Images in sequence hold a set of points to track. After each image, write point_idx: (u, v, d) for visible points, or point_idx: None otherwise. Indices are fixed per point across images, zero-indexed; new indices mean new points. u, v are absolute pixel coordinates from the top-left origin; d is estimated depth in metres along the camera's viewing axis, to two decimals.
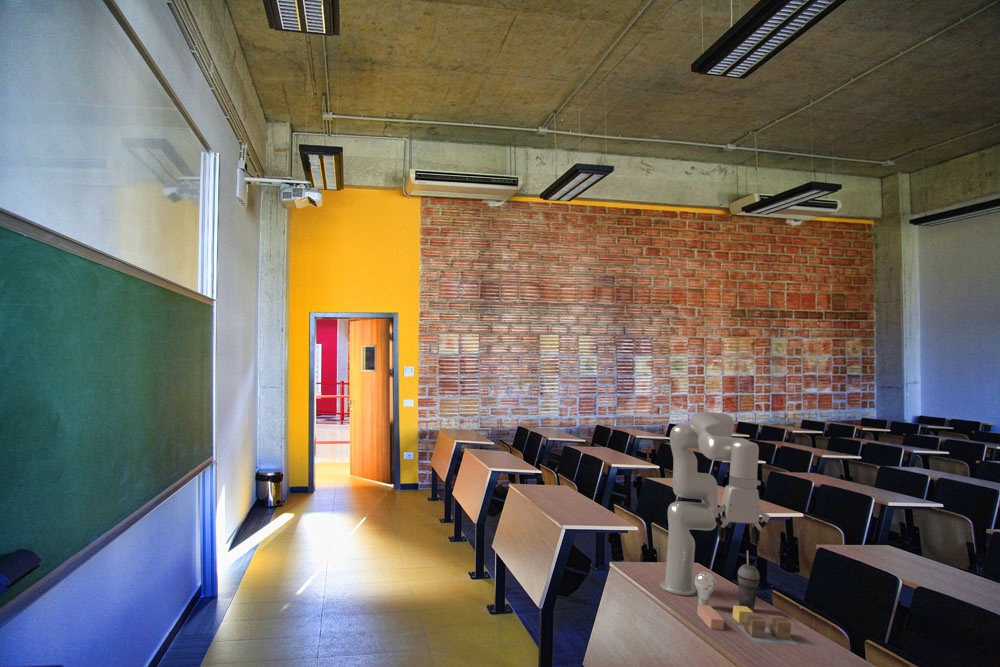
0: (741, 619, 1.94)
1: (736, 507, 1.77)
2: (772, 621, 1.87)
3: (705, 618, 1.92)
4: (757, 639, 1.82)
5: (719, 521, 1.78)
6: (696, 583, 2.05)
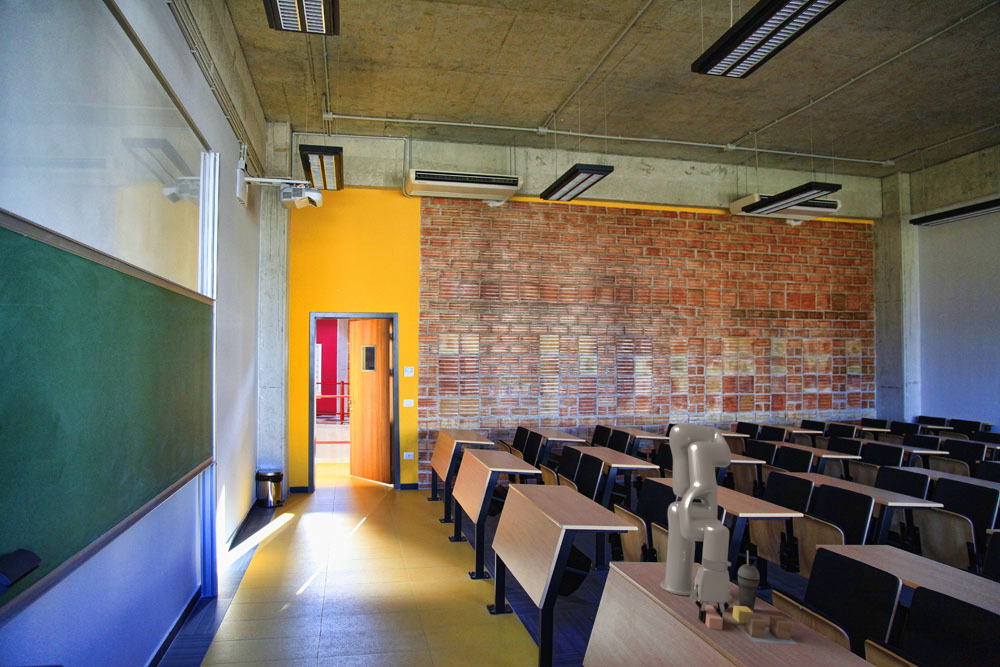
0: (741, 619, 1.94)
1: (708, 588, 1.91)
2: (772, 621, 1.87)
3: None
4: (757, 639, 1.82)
5: (699, 604, 1.92)
6: None
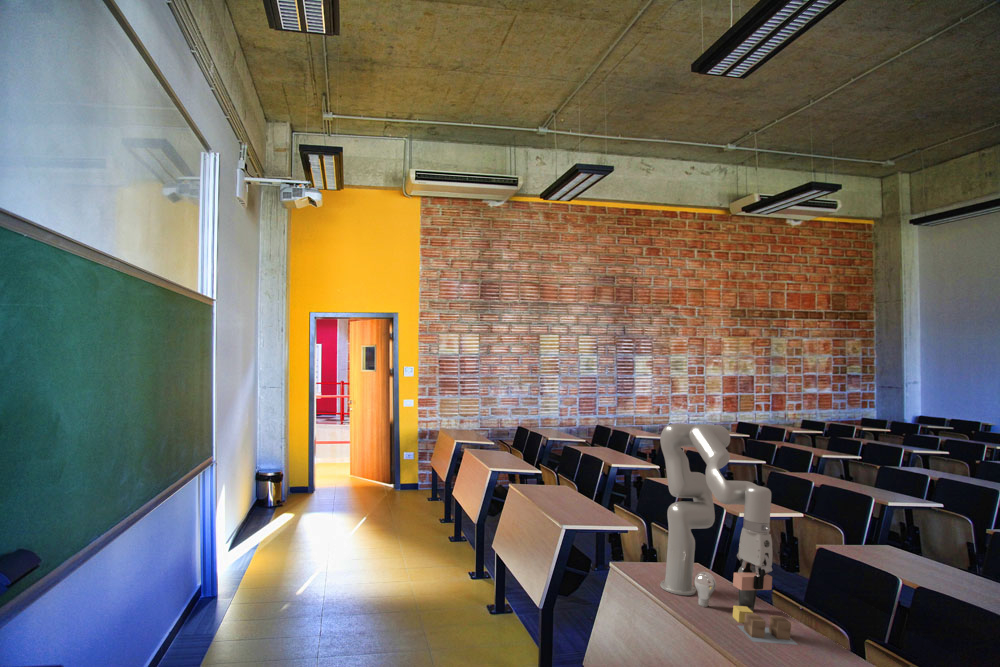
0: (741, 619, 1.94)
1: (743, 546, 1.91)
2: (772, 621, 1.87)
3: None
4: (757, 639, 1.82)
5: (742, 563, 1.93)
6: (696, 583, 2.05)
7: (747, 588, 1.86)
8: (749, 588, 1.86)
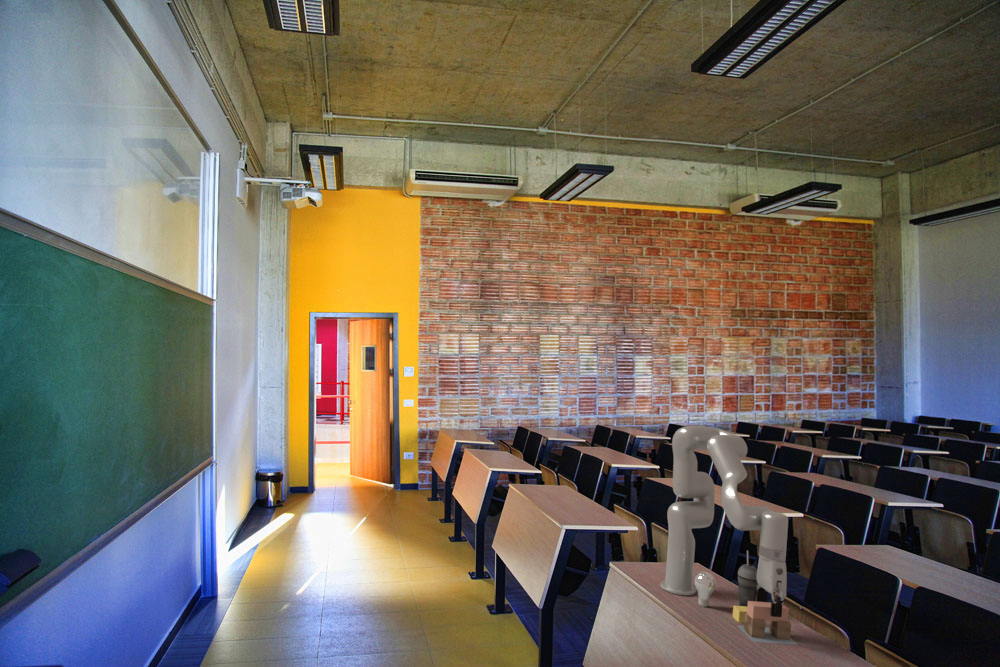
0: (741, 619, 1.94)
1: (759, 571, 1.90)
2: (772, 621, 1.87)
3: None
4: (757, 639, 1.82)
5: (757, 584, 1.93)
6: (696, 583, 2.05)
7: (759, 618, 1.85)
8: (762, 618, 1.85)
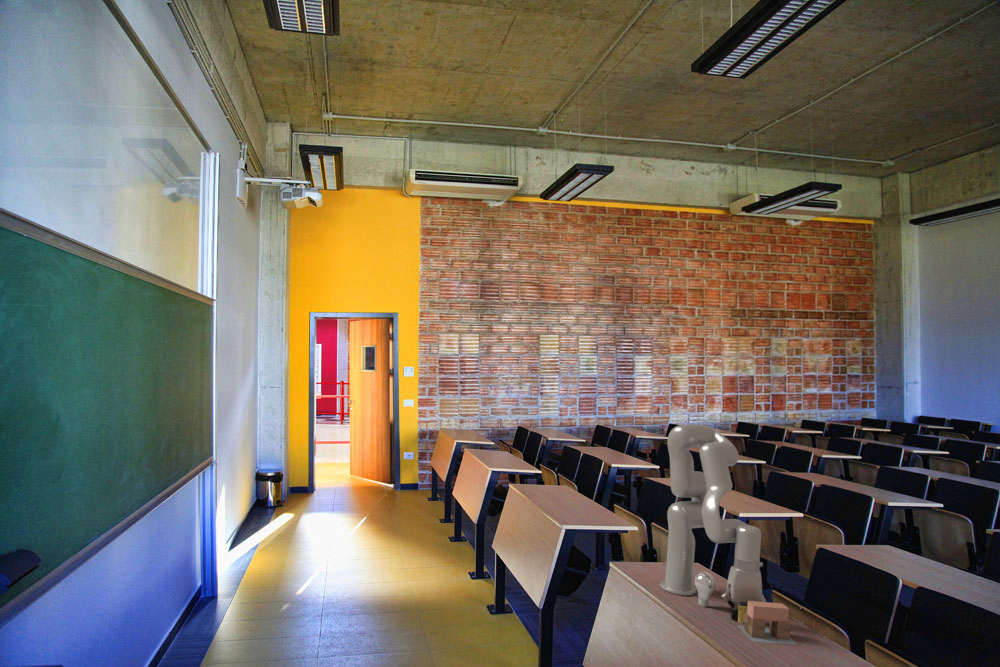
0: (741, 619, 1.94)
1: (740, 588, 1.94)
2: (772, 621, 1.87)
3: None
4: (757, 639, 1.82)
5: (731, 604, 1.95)
6: (696, 583, 2.05)
7: (759, 618, 1.85)
8: (762, 618, 1.85)
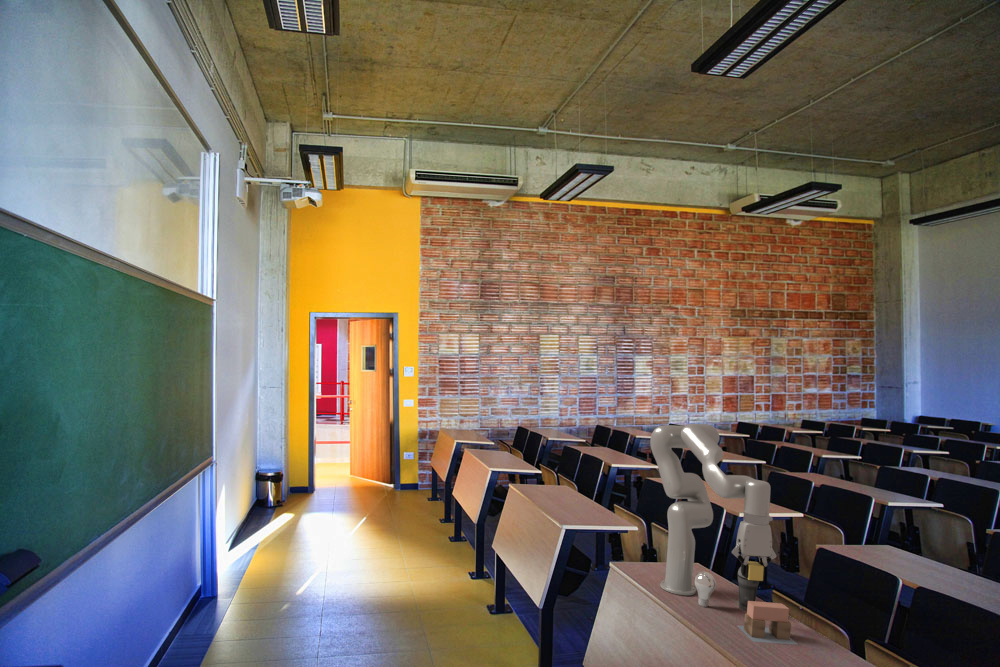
0: (751, 574, 1.92)
1: (750, 542, 1.92)
2: (772, 621, 1.87)
3: None
4: (757, 639, 1.82)
5: (742, 559, 1.93)
6: (696, 583, 2.05)
7: (759, 618, 1.85)
8: (762, 618, 1.85)
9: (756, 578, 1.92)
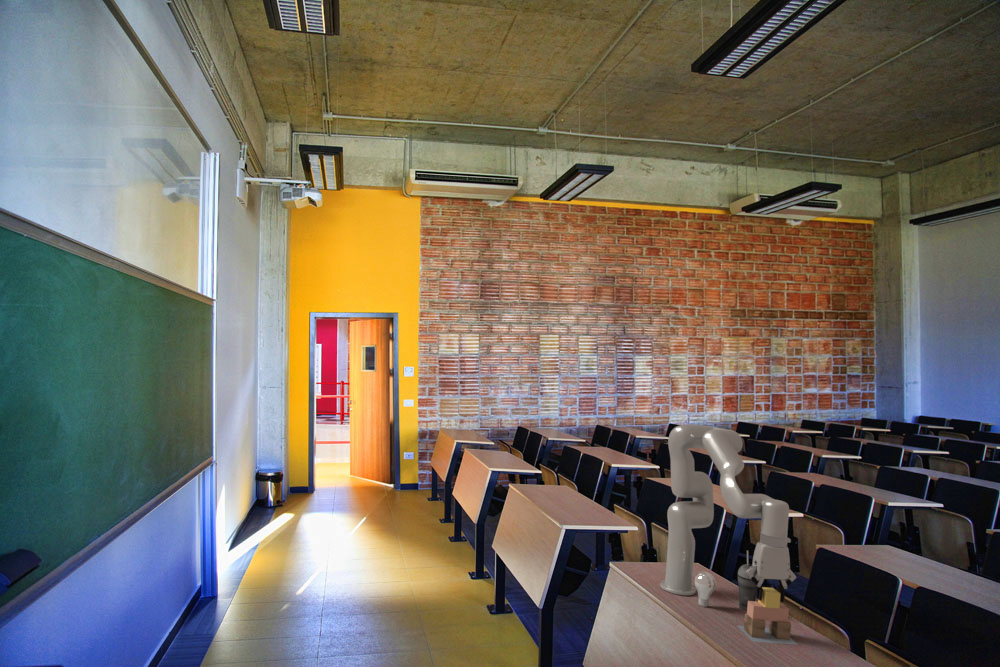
0: (768, 601, 1.85)
1: (767, 564, 1.85)
2: (772, 621, 1.87)
3: None
4: (757, 639, 1.82)
5: (755, 580, 1.86)
6: (696, 583, 2.05)
7: (759, 618, 1.85)
8: (762, 618, 1.85)
9: (772, 605, 1.85)
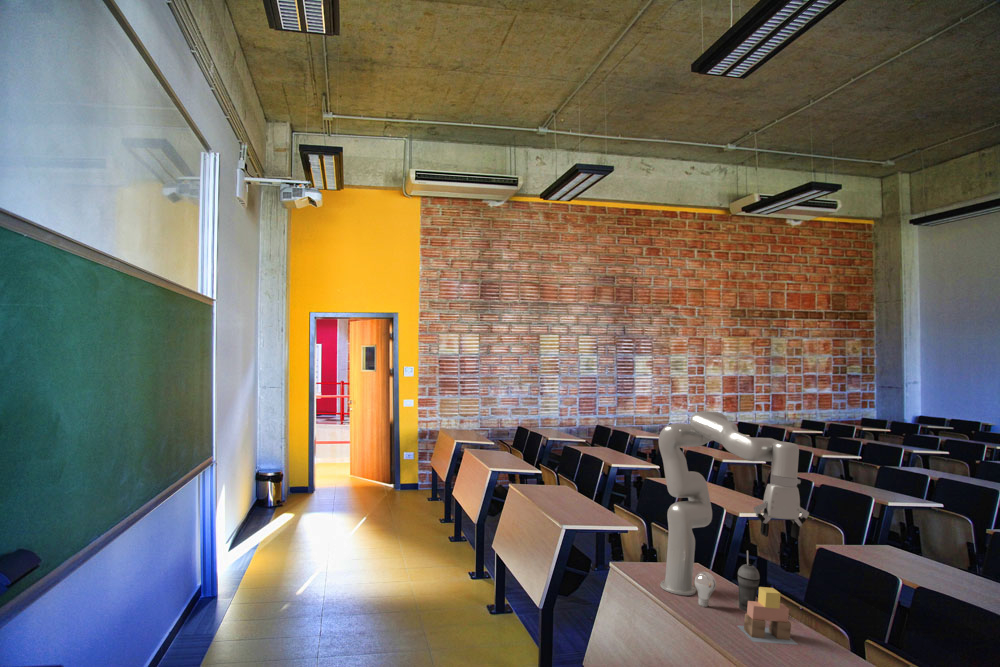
0: (768, 601, 1.85)
1: (778, 504, 1.88)
2: (772, 621, 1.87)
3: None
4: (757, 639, 1.82)
5: (762, 517, 1.89)
6: (696, 583, 2.05)
7: (759, 618, 1.85)
8: (762, 618, 1.85)
9: (772, 605, 1.85)
